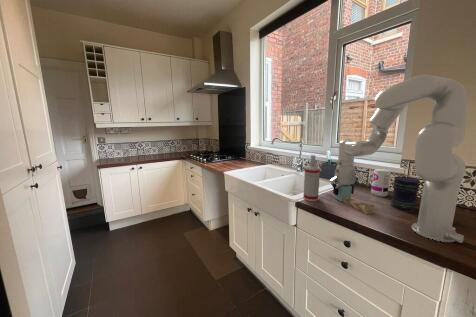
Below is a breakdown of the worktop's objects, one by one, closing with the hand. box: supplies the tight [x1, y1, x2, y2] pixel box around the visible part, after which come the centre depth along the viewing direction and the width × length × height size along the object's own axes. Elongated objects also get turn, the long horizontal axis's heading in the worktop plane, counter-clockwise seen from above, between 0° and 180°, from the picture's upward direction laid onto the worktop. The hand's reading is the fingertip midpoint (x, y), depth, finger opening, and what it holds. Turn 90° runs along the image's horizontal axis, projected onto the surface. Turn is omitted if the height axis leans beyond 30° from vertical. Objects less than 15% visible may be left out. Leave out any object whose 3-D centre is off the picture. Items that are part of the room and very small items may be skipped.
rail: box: [332, 194, 375, 215], centre depth 107 cm, size 23×4×8 cm, turn 13°
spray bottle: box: [302, 154, 321, 202], centre depth 114 cm, size 8×8×25 cm
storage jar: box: [390, 175, 420, 213], centre depth 103 cm, size 10×10×15 cm
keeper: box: [334, 184, 352, 202], centre depth 114 cm, size 5×6×8 cm
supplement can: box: [370, 168, 391, 197], centre depth 121 cm, size 8×8×15 cm
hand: (343, 193), depth 114 cm, fingers open, 9 cm apart
